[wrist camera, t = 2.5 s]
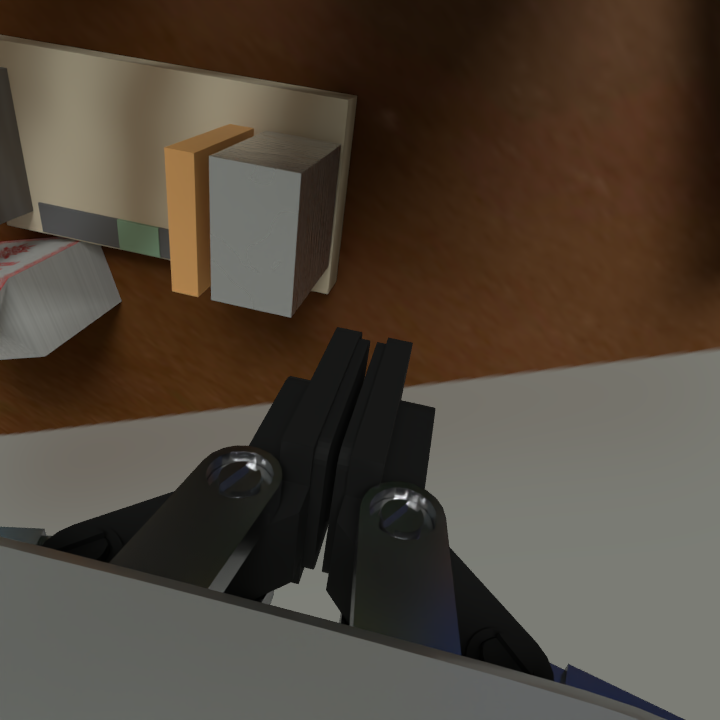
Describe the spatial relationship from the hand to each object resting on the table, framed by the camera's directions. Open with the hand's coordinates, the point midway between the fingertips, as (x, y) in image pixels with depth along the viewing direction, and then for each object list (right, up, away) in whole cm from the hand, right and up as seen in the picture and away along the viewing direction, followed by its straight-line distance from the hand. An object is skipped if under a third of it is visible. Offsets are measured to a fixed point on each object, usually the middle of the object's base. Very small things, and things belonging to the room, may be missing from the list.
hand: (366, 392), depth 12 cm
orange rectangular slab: (-5, +7, +11) cm, 14 cm away
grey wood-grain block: (-3, +7, +10) cm, 13 cm away
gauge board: (-8, +10, +13) cm, 18 cm away
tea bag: (-16, +5, +17) cm, 24 cm away
